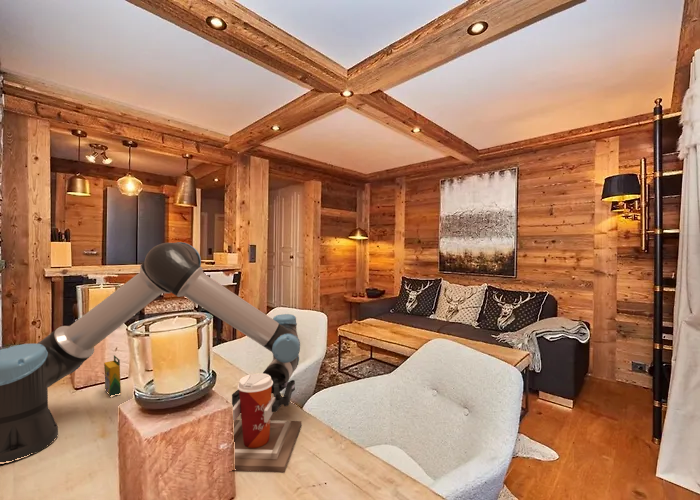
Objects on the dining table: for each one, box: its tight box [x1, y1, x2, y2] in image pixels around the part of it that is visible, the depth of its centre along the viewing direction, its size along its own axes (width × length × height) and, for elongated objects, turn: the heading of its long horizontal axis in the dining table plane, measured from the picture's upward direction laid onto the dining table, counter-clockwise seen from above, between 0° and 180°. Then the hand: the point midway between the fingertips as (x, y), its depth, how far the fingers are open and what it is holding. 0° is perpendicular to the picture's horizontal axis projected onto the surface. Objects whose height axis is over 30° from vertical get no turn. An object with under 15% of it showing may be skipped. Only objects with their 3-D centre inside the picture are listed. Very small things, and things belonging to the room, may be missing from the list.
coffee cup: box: [236, 372, 273, 448], centre depth 80 cm, size 8×8×15 cm
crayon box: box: [103, 354, 122, 397], centre depth 109 cm, size 7×3×12 cm, turn 48°
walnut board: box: [234, 419, 302, 473], centre depth 80 cm, size 18×18×2 cm
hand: (249, 416), depth 75 cm, fingers closed on coffee cup, 7 cm apart
